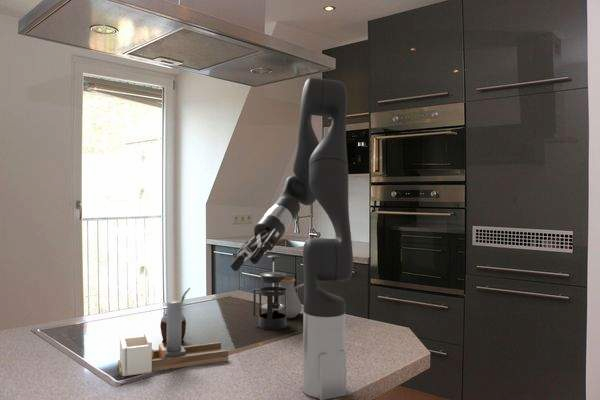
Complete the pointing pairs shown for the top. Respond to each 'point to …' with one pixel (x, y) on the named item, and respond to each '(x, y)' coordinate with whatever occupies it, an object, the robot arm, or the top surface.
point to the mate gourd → (164, 325)
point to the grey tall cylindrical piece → (173, 331)
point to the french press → (272, 301)
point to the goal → (136, 355)
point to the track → (189, 357)
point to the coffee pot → (290, 298)
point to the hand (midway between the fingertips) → (242, 265)
